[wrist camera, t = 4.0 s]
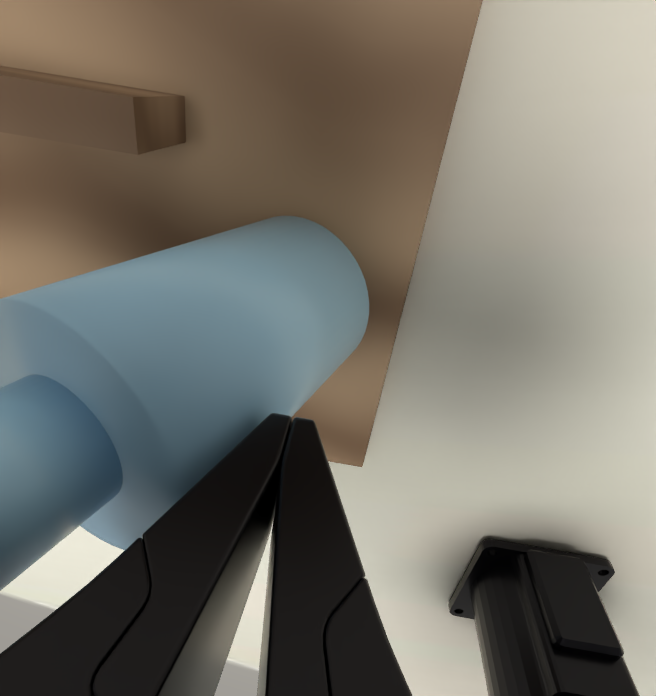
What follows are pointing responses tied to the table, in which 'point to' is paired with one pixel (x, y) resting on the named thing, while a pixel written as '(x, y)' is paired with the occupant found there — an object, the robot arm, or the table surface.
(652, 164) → the table surface
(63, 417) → the bottle
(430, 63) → the rest
